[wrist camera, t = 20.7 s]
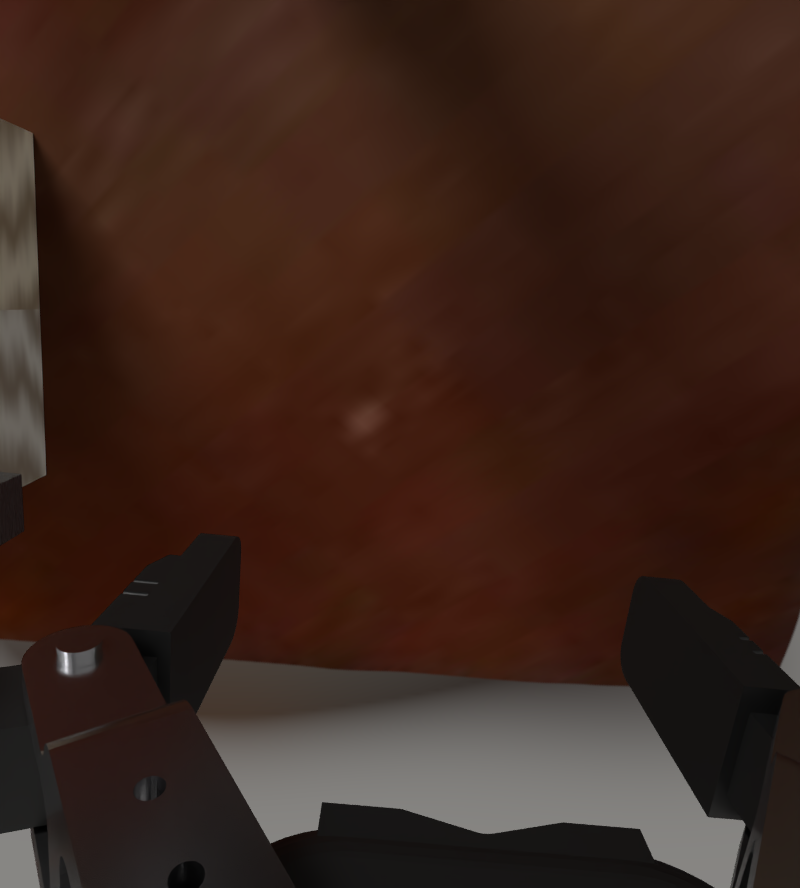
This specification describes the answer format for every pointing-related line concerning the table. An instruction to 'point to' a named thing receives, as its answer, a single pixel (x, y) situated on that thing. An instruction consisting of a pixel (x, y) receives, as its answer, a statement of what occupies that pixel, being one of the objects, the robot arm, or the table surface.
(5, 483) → the bar
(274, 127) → the table surface
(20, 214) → the stand
